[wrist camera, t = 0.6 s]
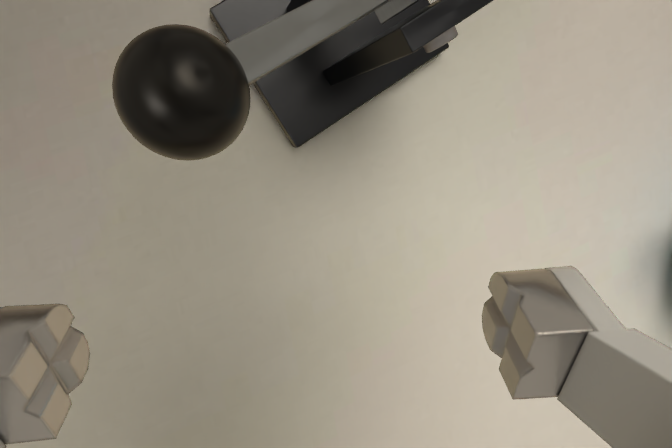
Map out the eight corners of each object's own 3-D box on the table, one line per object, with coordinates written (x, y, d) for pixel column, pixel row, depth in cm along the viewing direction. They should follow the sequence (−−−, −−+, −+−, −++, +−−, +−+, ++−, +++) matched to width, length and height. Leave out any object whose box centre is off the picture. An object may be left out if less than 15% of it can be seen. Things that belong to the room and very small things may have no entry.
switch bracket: (293, 147, 28) (354, 158, 16) (209, 14, 25) (204, -96, 13) (440, 50, 29) (601, -9, 17) (376, -87, 26) (513, -273, 14)
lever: (154, 193, 12) (198, 171, 9) (70, 86, 11) (94, 28, 8) (413, 18, 19) (476, -21, 17) (379, -54, 18) (440, -107, 16)
